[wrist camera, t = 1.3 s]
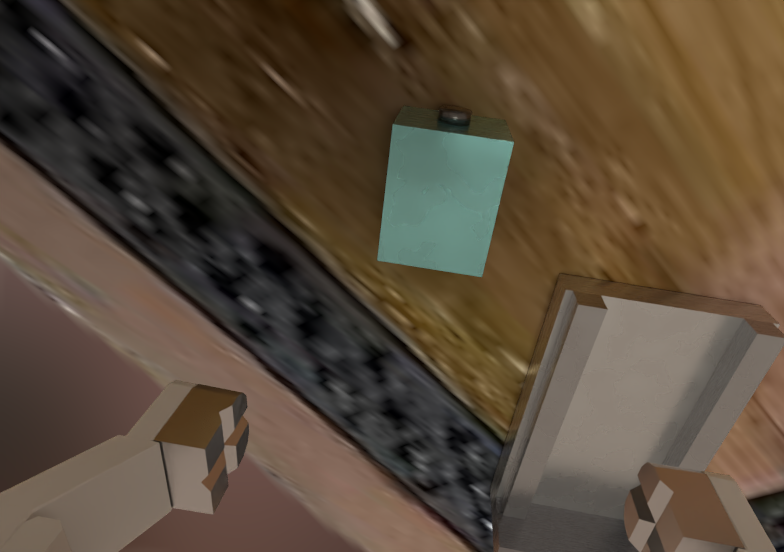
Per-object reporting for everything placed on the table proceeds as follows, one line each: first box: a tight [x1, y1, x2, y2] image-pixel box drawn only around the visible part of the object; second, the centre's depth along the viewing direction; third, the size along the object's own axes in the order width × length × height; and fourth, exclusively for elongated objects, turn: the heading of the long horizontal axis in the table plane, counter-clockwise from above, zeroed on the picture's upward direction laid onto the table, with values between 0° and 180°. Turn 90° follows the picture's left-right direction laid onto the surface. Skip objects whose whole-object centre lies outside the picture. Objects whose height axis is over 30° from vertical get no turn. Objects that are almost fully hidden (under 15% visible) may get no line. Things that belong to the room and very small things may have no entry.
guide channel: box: [490, 274, 784, 552], centre depth 32 cm, size 12×20×6 cm, turn 173°
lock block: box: [377, 106, 514, 277], centre depth 26 cm, size 6×8×5 cm
